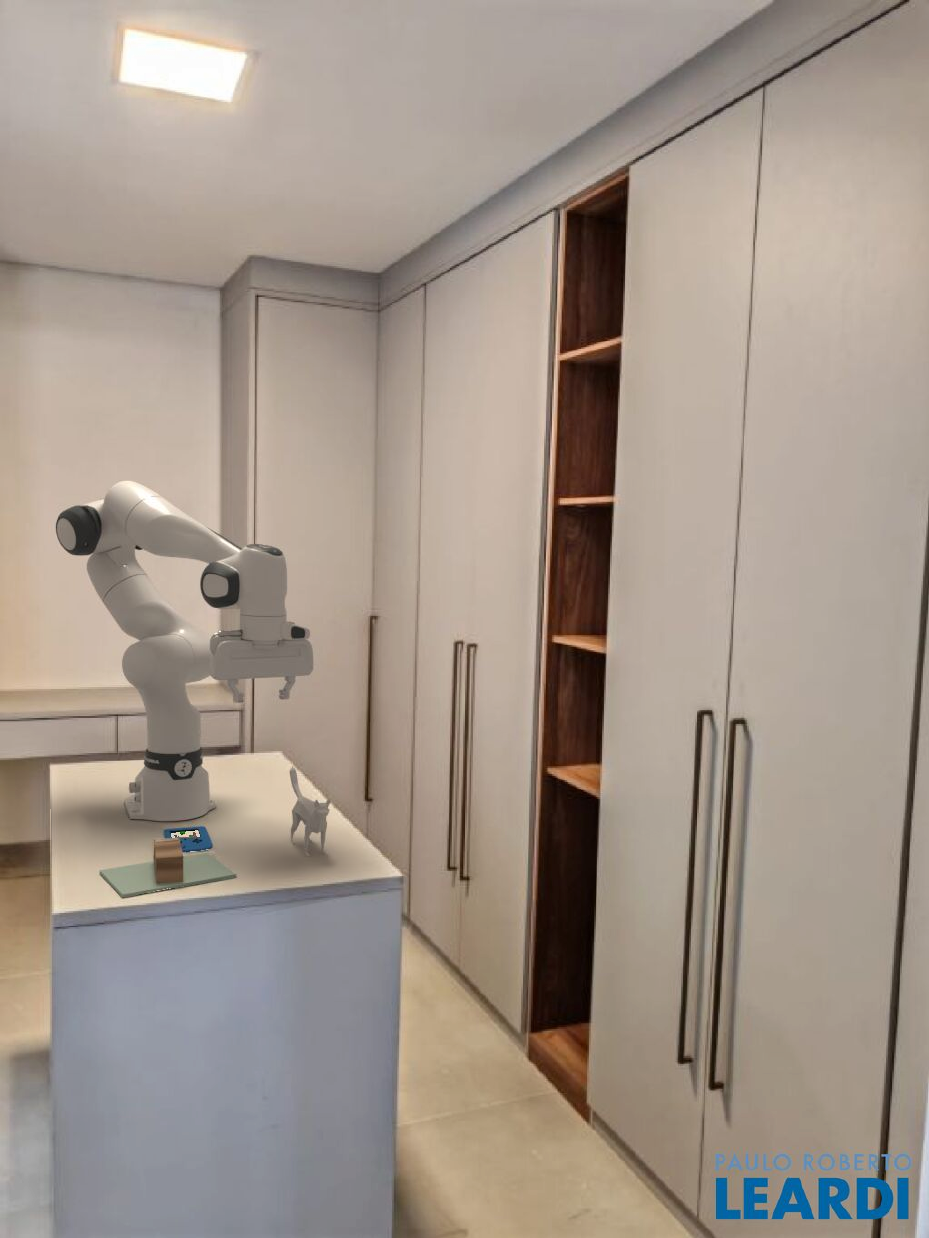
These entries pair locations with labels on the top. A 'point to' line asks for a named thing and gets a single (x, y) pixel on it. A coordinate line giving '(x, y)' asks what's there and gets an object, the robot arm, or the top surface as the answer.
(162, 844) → the walnut block
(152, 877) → the rubber mat
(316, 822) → the cat figurine
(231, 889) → the top surface
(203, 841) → the handheld gaming device
